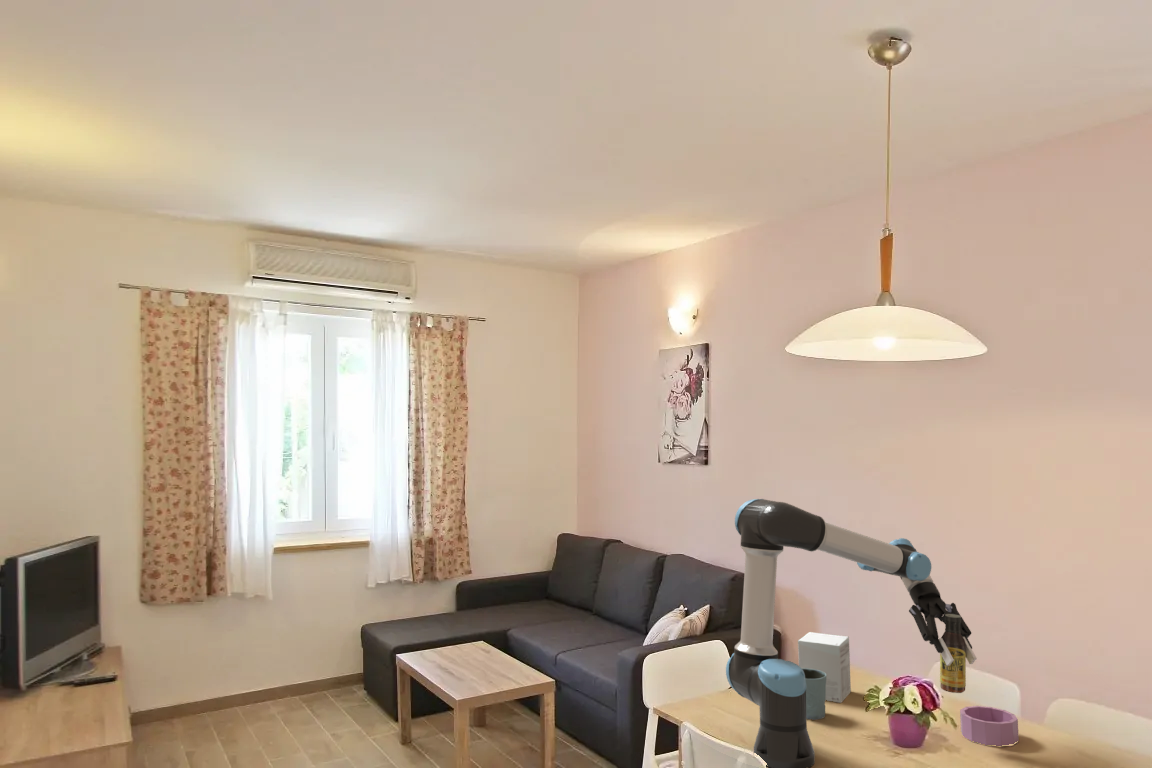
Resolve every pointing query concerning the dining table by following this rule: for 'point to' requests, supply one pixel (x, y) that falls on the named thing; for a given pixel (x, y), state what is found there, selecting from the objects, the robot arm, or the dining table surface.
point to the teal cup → (815, 693)
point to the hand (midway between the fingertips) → (961, 662)
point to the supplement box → (828, 661)
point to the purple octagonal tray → (989, 725)
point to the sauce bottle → (956, 672)
